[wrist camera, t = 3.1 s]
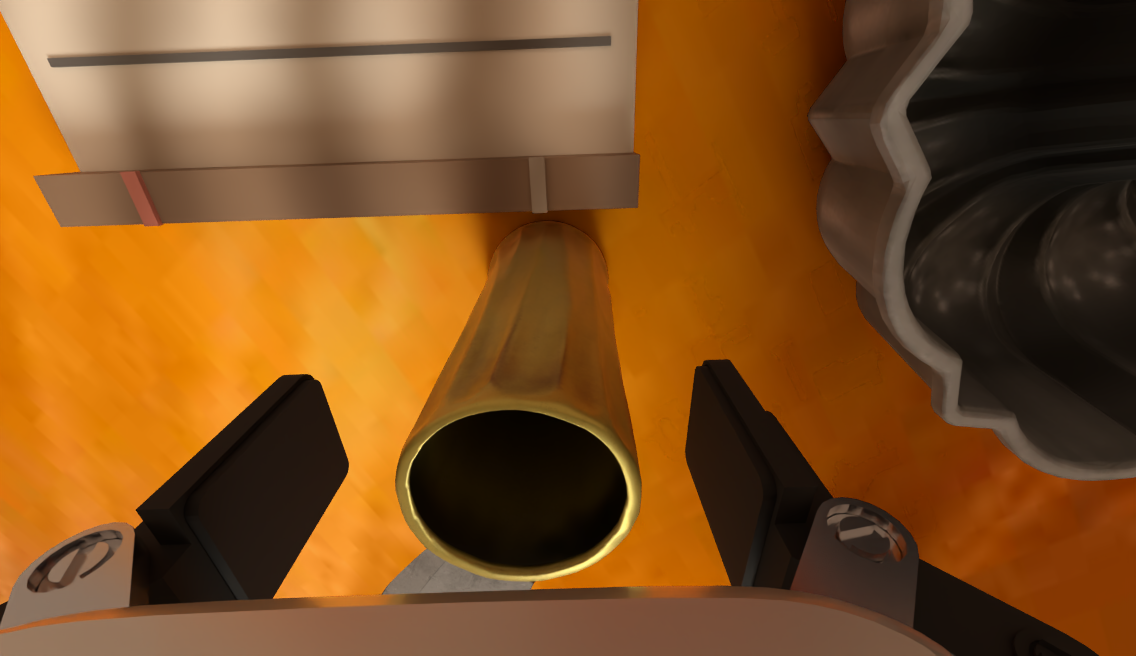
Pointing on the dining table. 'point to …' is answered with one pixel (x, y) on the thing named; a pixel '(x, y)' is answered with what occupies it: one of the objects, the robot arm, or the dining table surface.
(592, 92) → the fence board
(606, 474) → the vase
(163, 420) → the dining table surface
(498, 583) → the cleaver
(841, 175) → the bundt pan
